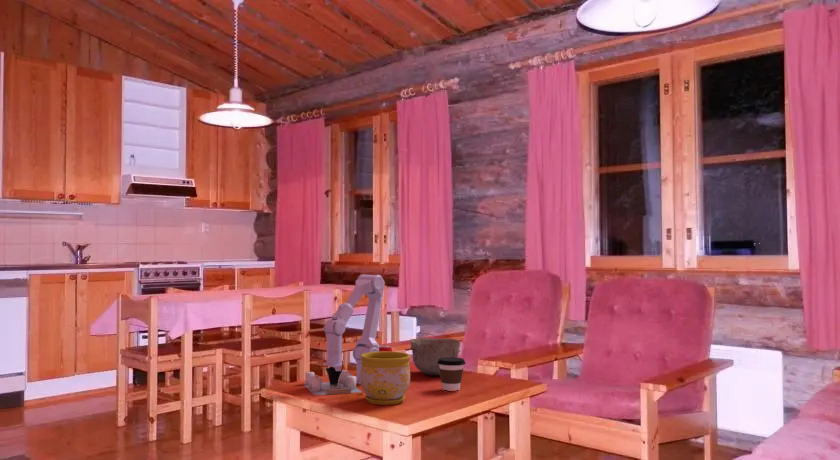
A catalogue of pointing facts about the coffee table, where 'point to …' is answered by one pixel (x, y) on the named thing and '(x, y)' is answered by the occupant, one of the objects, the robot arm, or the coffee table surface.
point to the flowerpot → (385, 376)
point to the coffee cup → (451, 372)
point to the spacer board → (324, 388)
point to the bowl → (432, 353)
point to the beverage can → (385, 348)
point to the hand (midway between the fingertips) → (333, 387)
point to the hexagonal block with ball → (336, 386)
